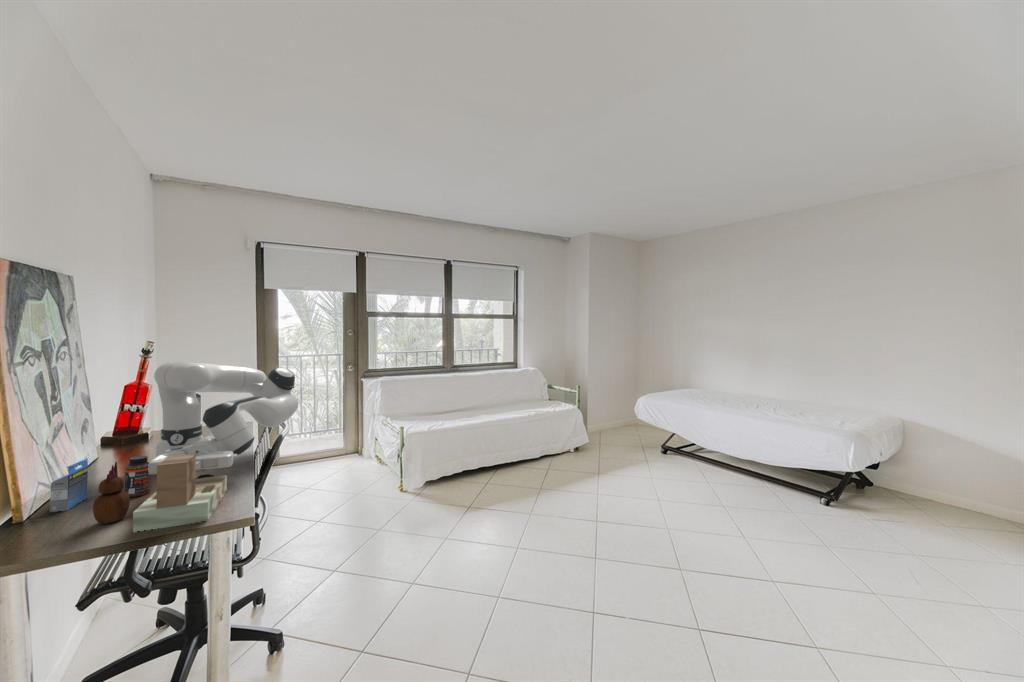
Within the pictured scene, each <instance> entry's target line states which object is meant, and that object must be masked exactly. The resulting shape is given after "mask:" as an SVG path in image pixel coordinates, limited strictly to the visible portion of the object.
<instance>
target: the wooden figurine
mask: <svg viewBox="0 0 1024 682" xmlns="http://www.w3.org/2000/svg"><path fill="white" fill-rule="evenodd" d="M114 462H115V463H114V464H112V465H111V469H110V470H108V473H107V474H106V478H105V479H102V480H101V481H100V483H99V485H98V492H99V493H100V495H98V496H97V497H96V498H95V499H94V501H93V504H92V513H93V518H94V520H95V521H96V522H97V523H98V524H99V525H107V524H113V523H115V522H118V521H120V520H122V519H124V518H125V516H126V515H127V513H128V511H129V507H130V503H131V502H130V500H131V499H130V497H129V495H128V493H127V492H126V491H125V478H123V477H120V476H119V475H118V474H119V473H118V472H119V471H118V462H117V461H114Z"/></svg>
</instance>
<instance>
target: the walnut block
mask: <svg viewBox="0 0 1024 682" xmlns="http://www.w3.org/2000/svg"><path fill="white" fill-rule="evenodd" d="M196 478H197V477H196V454H192V455H181V456H171V457H167V458H166V459H164V460H163V461H162V462H160V463H159V464H158V465H157V474H156V491H157V509H160V508H167V507H175V506H182V505H187V504H188V503H189V501H190V500H191V499H192V498H193V496H194V495H195V489H196Z"/></svg>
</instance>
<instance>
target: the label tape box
mask: <svg viewBox="0 0 1024 682" xmlns="http://www.w3.org/2000/svg"><path fill="white" fill-rule="evenodd" d="M78 466H79V468H78ZM80 466H81V467H80ZM66 467H67V473H68V474H66V475H64V476H62V477H59V478H57V479H55V480H54V481H51V482H50V497H49V499H50V500H49V513H58V511H61V512H66V511H70V510H71V509H72V508H74V507H75V506H77V505H78V503H79V504H80V503H82V502H84V501H85V500H86V499H87V494H88V491H87V490H88V475H89V460H88V457H87V458H84V459H82V460H80V461H77V462H75V463H72V464H70V465H67V466H66ZM83 500H84V501H83ZM70 508H71V509H70Z"/></svg>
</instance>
